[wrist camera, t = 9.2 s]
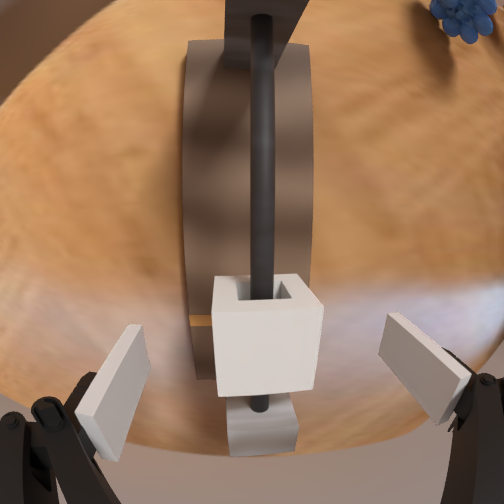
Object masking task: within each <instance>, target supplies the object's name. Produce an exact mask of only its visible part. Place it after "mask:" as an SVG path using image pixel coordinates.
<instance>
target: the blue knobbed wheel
mask: <svg viewBox="0 0 504 504" xmlns="http://www.w3.org/2000/svg"><path fill="white" fill-rule="evenodd" d="M429 7H430V12H431V13H432V15H433V16H434V17H436V18H437V19H441V20H443V21H442V27H443V30H444V31H445V33H446V34H447V35H449V36H450V37H456V36H458V35H460V36H461V38H462V39H463V40H464V41H465V42H466V43H467V44H473V43H475V42H476V41H477V39H478V32H479V33H480V34H481V35H483V36H487V35H489V34H491V33H492V31H493V23H492V21H491V19H490V17H489V16H487V15H492V14H494V13H495V12H496V10H497V4H496V1H495V0H431V3H430V5H429ZM486 14H487V15H486Z"/></svg>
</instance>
